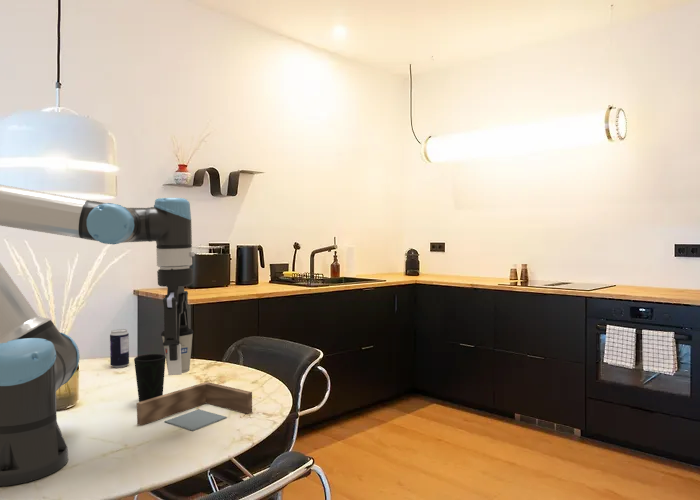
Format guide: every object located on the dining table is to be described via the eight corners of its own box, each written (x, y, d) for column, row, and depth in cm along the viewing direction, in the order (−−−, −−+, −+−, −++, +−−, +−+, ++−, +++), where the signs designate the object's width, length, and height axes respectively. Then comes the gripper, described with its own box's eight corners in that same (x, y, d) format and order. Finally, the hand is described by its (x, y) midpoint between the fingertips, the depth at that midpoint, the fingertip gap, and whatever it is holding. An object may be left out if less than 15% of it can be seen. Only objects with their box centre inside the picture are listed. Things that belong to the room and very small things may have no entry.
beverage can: (126, 363, 180) (125, 328, 180) (131, 366, 176) (130, 330, 175) (108, 366, 176) (107, 330, 176) (113, 369, 172) (112, 332, 172)
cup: (155, 408, 133) (155, 361, 133) (128, 406, 135) (127, 360, 134) (172, 399, 141) (171, 354, 140) (146, 397, 142) (145, 353, 142)
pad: (192, 431, 118) (192, 429, 118) (164, 422, 123) (164, 421, 123) (226, 418, 126) (226, 416, 126) (198, 410, 132) (198, 409, 132)
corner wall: (183, 439, 113) (183, 416, 113) (137, 424, 122) (136, 402, 122) (252, 412, 130) (252, 392, 130) (206, 400, 139) (206, 381, 139)
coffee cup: (169, 367, 122) (167, 324, 122) (199, 366, 122) (197, 323, 122) (157, 375, 115) (155, 330, 115) (189, 375, 115) (187, 329, 115)
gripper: (183, 270, 108) (187, 381, 109) (200, 264, 128) (203, 358, 129) (145, 271, 107) (149, 383, 108) (168, 265, 127) (171, 360, 128)
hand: (178, 369), depth 119 cm, fingers closed on coffee cup, 7 cm apart
